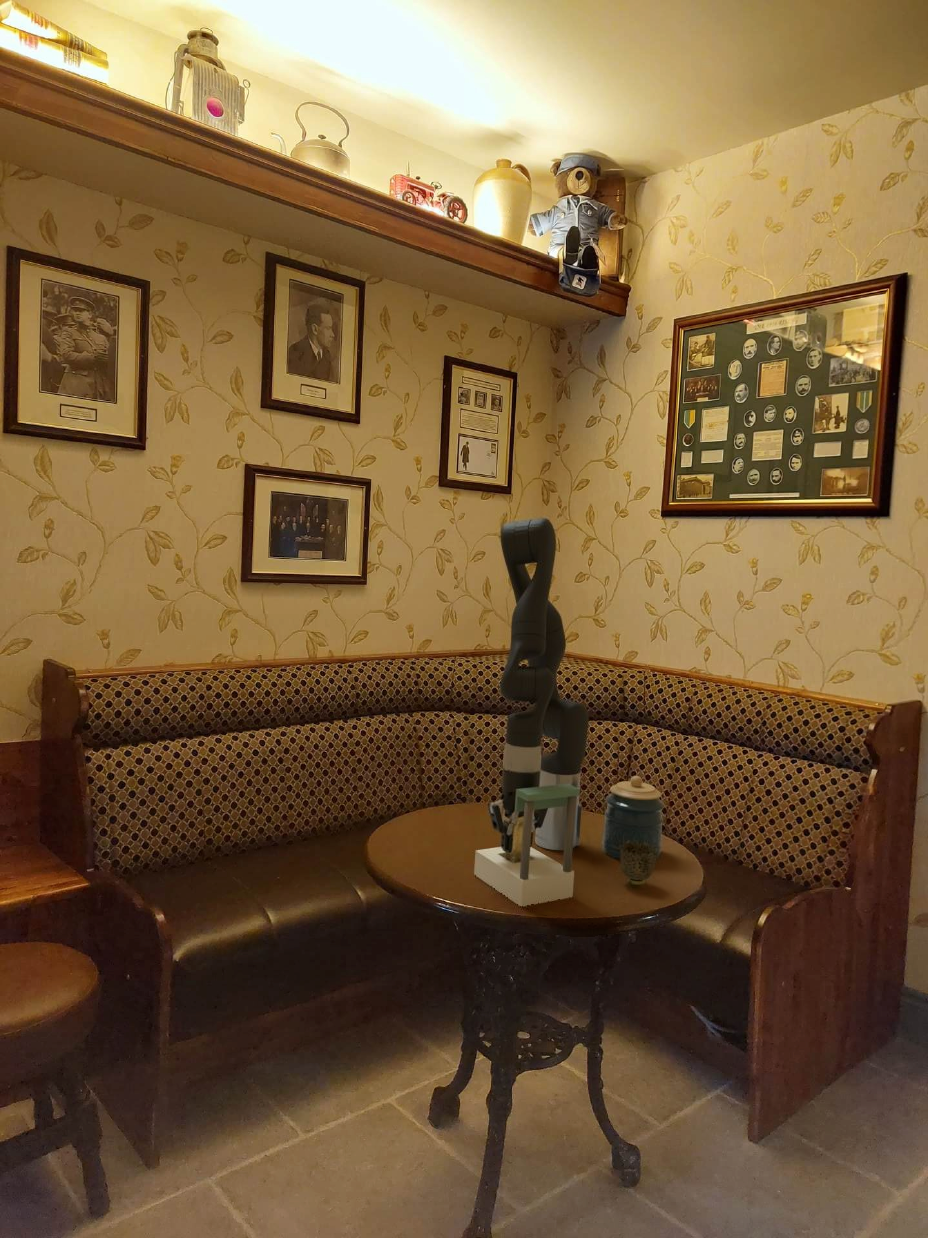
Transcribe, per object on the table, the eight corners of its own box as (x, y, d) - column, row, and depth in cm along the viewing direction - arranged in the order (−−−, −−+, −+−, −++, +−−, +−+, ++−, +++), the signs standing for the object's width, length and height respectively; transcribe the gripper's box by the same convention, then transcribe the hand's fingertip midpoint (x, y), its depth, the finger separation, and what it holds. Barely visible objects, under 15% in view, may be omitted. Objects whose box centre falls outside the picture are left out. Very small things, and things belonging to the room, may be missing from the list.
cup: (628, 875, 175) (630, 837, 175) (660, 885, 171) (663, 847, 170) (610, 884, 170) (613, 846, 169) (643, 895, 165) (646, 855, 164)
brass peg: (518, 858, 171) (521, 810, 170) (529, 865, 168) (532, 816, 167) (501, 861, 169) (504, 812, 168) (512, 868, 166) (515, 818, 165)
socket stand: (523, 866, 177) (529, 767, 175) (572, 897, 162) (580, 789, 161) (474, 874, 171) (480, 772, 169) (520, 907, 156) (528, 795, 154)
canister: (666, 865, 183) (673, 785, 181) (607, 862, 183) (613, 782, 181) (653, 844, 196) (658, 770, 194) (597, 841, 196) (602, 767, 194)
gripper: (540, 759, 174) (534, 840, 175) (481, 764, 167) (476, 848, 168) (562, 768, 167) (556, 852, 168) (501, 773, 160) (496, 861, 161)
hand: (516, 850), depth 168 cm, fingers closed on brass peg, 4 cm apart
